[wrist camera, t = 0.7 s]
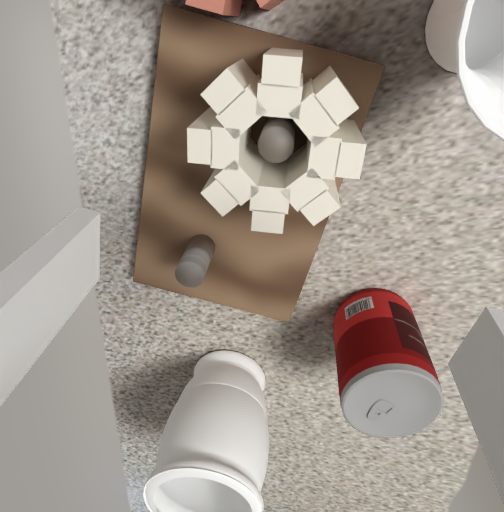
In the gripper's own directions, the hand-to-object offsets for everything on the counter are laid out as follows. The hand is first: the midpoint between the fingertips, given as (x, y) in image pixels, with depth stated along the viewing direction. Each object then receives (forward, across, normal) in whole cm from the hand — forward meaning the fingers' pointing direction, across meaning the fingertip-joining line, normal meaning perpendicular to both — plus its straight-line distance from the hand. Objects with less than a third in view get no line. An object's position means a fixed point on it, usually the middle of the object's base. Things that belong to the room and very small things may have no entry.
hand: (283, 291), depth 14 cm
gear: (+21, -1, 0) cm, 21 cm away
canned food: (+22, +12, -16) cm, 30 cm away
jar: (+22, 0, -29) cm, 36 cm away
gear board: (+22, -4, -6) cm, 23 cm away
